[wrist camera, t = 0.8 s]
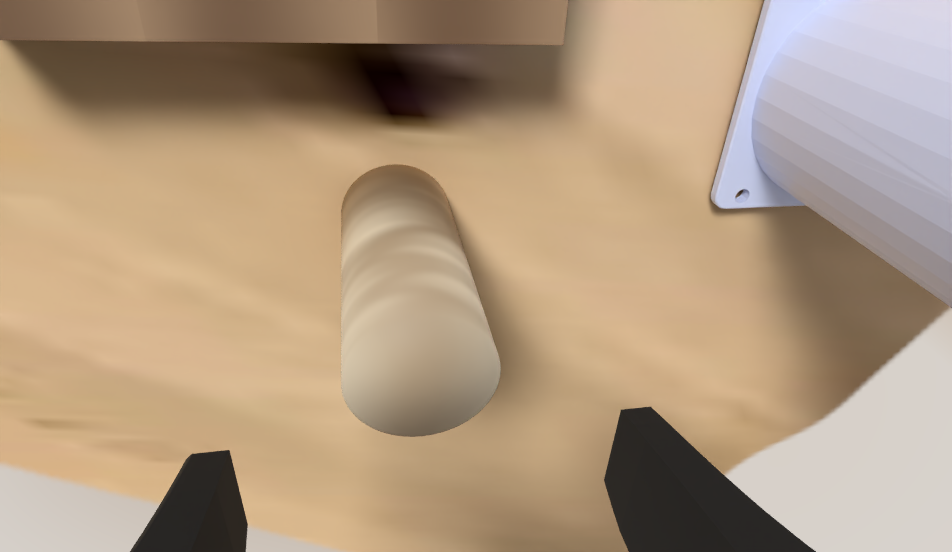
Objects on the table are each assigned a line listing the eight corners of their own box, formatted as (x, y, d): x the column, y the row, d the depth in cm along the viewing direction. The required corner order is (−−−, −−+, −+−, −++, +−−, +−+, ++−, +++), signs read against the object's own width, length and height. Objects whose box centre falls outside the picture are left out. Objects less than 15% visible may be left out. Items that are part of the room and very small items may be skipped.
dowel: (450, 163, 19) (506, 309, 13) (447, 257, 21) (495, 428, 15) (337, 166, 19) (335, 322, 12) (345, 263, 21) (346, 444, 14)
